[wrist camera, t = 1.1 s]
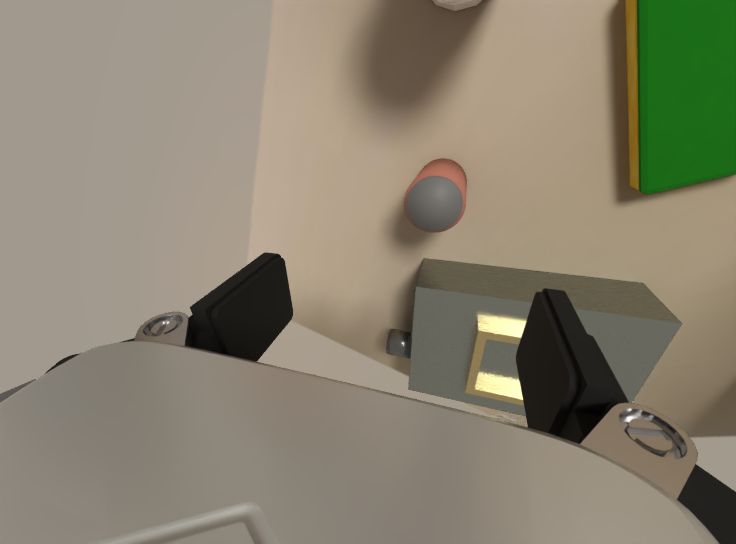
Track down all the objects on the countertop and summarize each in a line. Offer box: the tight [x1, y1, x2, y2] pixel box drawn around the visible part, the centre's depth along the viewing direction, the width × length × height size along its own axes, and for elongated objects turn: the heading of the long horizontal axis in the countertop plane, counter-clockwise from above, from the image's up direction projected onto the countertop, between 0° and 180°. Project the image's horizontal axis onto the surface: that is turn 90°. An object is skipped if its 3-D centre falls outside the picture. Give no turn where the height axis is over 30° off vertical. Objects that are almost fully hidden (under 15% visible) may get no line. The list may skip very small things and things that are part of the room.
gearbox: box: [386, 258, 682, 416], centre depth 31 cm, size 23×14×7 cm, turn 91°
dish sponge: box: [626, 0, 736, 194], centre depth 20 cm, size 7×14×2 cm, turn 21°
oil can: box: [404, 159, 467, 232], centre depth 25 cm, size 5×5×7 cm
